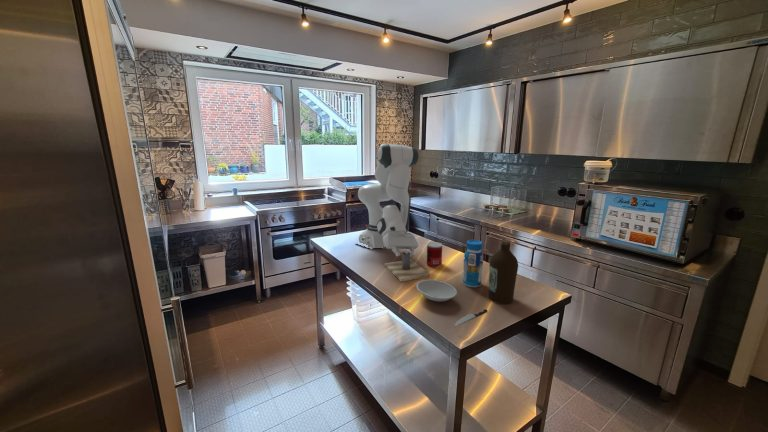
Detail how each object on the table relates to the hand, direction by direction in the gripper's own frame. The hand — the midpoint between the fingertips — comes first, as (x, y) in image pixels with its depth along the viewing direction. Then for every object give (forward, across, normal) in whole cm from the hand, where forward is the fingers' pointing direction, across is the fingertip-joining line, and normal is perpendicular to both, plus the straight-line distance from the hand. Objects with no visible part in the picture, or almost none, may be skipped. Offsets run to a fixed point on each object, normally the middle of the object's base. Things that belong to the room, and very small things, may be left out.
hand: (405, 256), depth 149 cm
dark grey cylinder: (+5, -2, -4) cm, 6 cm away
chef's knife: (+38, +6, +27) cm, 47 cm away
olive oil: (+34, -15, +30) cm, 47 cm away
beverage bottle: (+23, -17, +18) cm, 34 cm away
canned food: (+4, -19, -1) cm, 20 cm away
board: (+6, -2, -5) cm, 8 cm away
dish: (+27, +6, +15) cm, 31 cm away
